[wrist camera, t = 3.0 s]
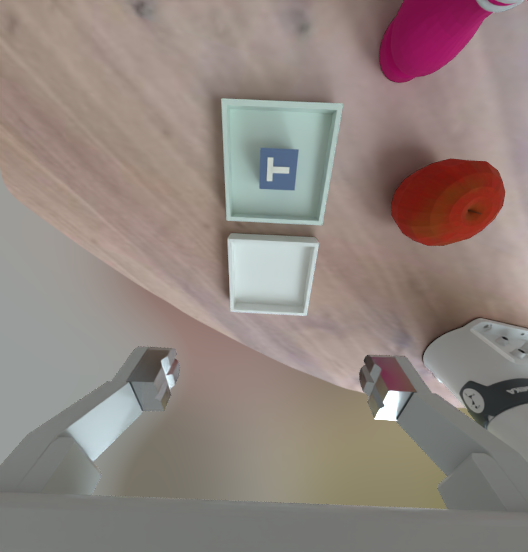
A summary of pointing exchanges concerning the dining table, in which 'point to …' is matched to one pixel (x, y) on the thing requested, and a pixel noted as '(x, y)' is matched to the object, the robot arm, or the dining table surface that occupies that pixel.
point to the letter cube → (278, 168)
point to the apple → (448, 201)
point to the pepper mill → (432, 34)
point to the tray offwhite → (271, 273)
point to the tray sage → (283, 135)
